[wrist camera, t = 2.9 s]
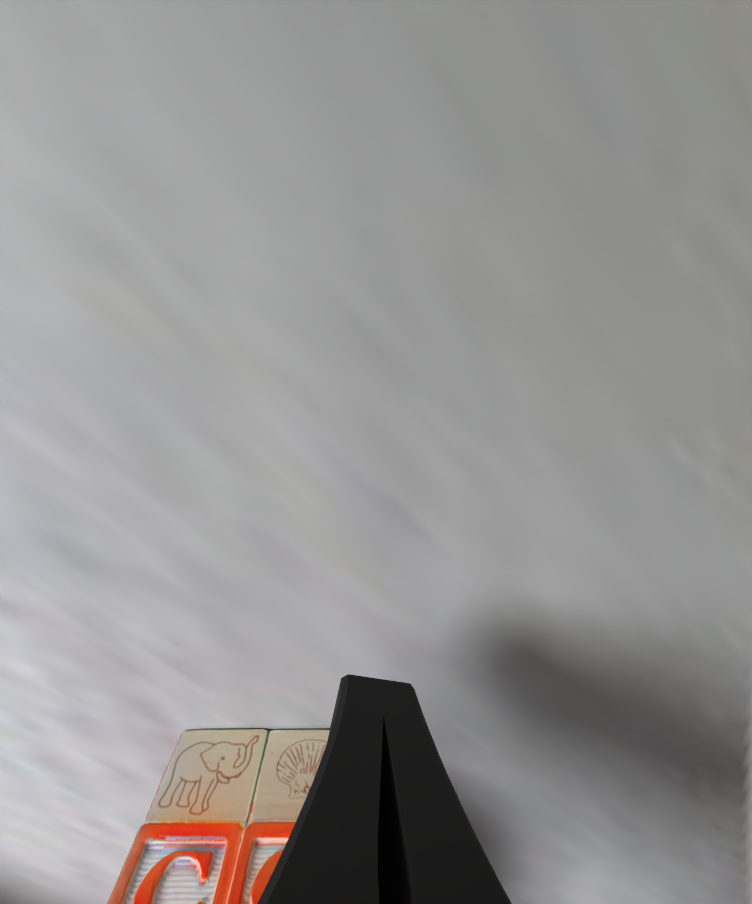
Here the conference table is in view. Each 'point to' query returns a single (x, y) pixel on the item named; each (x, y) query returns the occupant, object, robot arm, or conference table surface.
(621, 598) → the conference table surface
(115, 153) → the conference table surface
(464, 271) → the conference table surface
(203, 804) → the stack of blocks
